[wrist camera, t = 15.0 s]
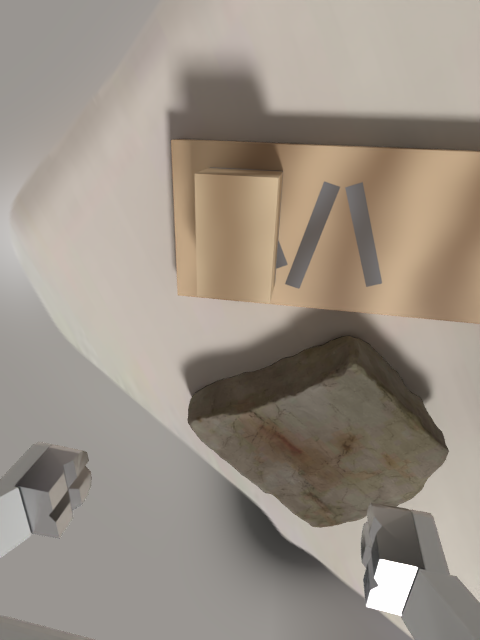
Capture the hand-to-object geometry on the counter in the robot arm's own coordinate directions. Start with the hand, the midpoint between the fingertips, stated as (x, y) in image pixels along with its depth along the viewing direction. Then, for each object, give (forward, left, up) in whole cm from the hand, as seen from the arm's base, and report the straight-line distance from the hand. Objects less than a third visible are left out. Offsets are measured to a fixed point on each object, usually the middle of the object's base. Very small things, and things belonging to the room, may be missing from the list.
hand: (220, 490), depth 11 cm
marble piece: (-4, +12, -19) cm, 23 cm away
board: (-5, -3, -19) cm, 20 cm away
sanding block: (+2, -3, -17) cm, 17 cm away
